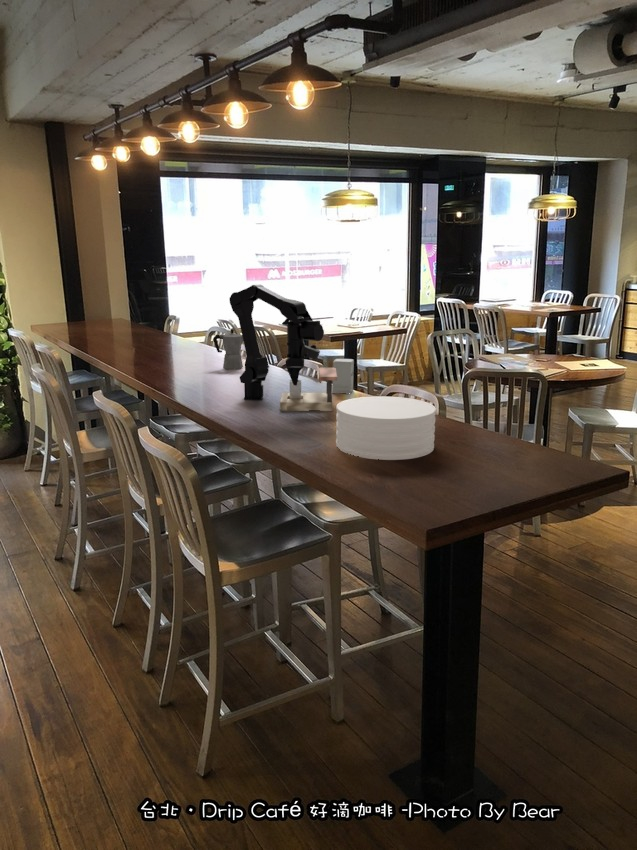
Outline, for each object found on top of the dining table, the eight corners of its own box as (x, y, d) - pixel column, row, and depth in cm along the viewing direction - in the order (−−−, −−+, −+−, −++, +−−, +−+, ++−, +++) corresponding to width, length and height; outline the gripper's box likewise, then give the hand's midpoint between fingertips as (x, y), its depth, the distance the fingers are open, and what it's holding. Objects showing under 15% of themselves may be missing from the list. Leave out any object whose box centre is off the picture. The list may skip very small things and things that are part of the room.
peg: (289, 406, 241) (289, 381, 238) (290, 404, 245) (290, 379, 242) (300, 407, 241) (301, 382, 238) (301, 404, 245) (301, 379, 242)
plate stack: (318, 440, 201) (318, 402, 198) (395, 428, 214) (397, 392, 211) (371, 466, 177) (372, 423, 174) (454, 451, 190) (456, 411, 188)
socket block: (280, 411, 234) (279, 376, 231) (282, 399, 251) (282, 367, 248) (336, 411, 234) (337, 376, 231) (335, 400, 251) (335, 367, 248)
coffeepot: (246, 365, 322) (245, 327, 317) (248, 369, 313) (247, 330, 308) (213, 366, 319) (211, 328, 314) (214, 370, 310) (213, 330, 305)
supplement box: (350, 394, 262) (351, 361, 259) (331, 393, 263) (332, 361, 260) (353, 390, 269) (354, 358, 266) (335, 389, 270) (335, 358, 267)
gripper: (318, 342, 227) (318, 388, 231) (318, 335, 246) (318, 377, 250) (285, 342, 227) (285, 388, 231) (287, 335, 245) (287, 377, 249)
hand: (295, 382), depth 240 cm, fingers open, 9 cm apart
